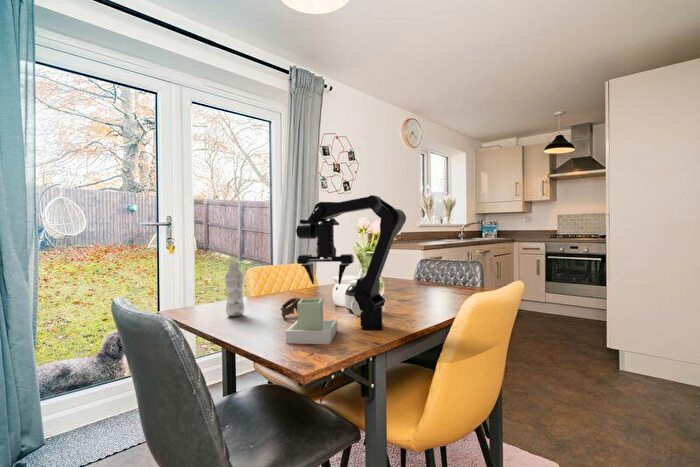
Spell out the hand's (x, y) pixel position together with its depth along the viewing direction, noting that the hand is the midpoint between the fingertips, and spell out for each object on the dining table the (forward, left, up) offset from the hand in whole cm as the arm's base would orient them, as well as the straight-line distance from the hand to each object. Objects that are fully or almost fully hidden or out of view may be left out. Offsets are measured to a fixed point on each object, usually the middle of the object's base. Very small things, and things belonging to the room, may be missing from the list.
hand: (326, 284), depth 122 cm
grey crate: (+1, +17, -13) cm, 21 cm away
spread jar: (-10, -14, -13) cm, 22 cm away
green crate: (+1, +18, -12) cm, 21 cm away
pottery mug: (+12, -6, -13) cm, 19 cm away
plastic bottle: (+36, -6, -13) cm, 39 cm away
